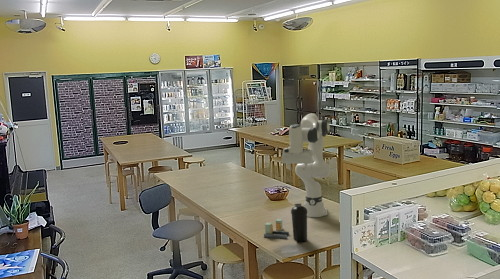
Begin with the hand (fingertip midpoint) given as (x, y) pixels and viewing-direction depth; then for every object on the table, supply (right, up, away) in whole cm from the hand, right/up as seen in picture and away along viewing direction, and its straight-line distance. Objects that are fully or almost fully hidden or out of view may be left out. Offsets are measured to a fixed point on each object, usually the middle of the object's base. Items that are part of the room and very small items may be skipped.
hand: (297, 170), depth 285 cm
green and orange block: (-19, -42, -3) cm, 46 cm away
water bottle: (+1, -44, -11) cm, 45 cm away
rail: (-14, -43, -4) cm, 46 cm away
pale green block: (-11, -42, +6) cm, 43 cm away
